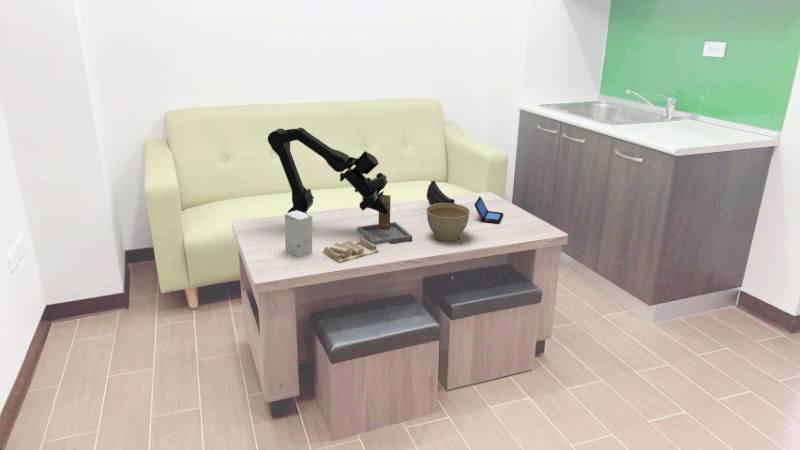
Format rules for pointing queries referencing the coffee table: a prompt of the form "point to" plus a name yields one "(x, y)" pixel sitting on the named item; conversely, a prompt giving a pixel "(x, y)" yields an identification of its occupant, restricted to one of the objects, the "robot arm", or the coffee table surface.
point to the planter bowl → (447, 220)
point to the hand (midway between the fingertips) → (388, 212)
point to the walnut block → (385, 218)
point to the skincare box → (298, 233)
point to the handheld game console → (487, 213)
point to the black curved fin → (437, 195)
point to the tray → (386, 234)
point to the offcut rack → (356, 251)
